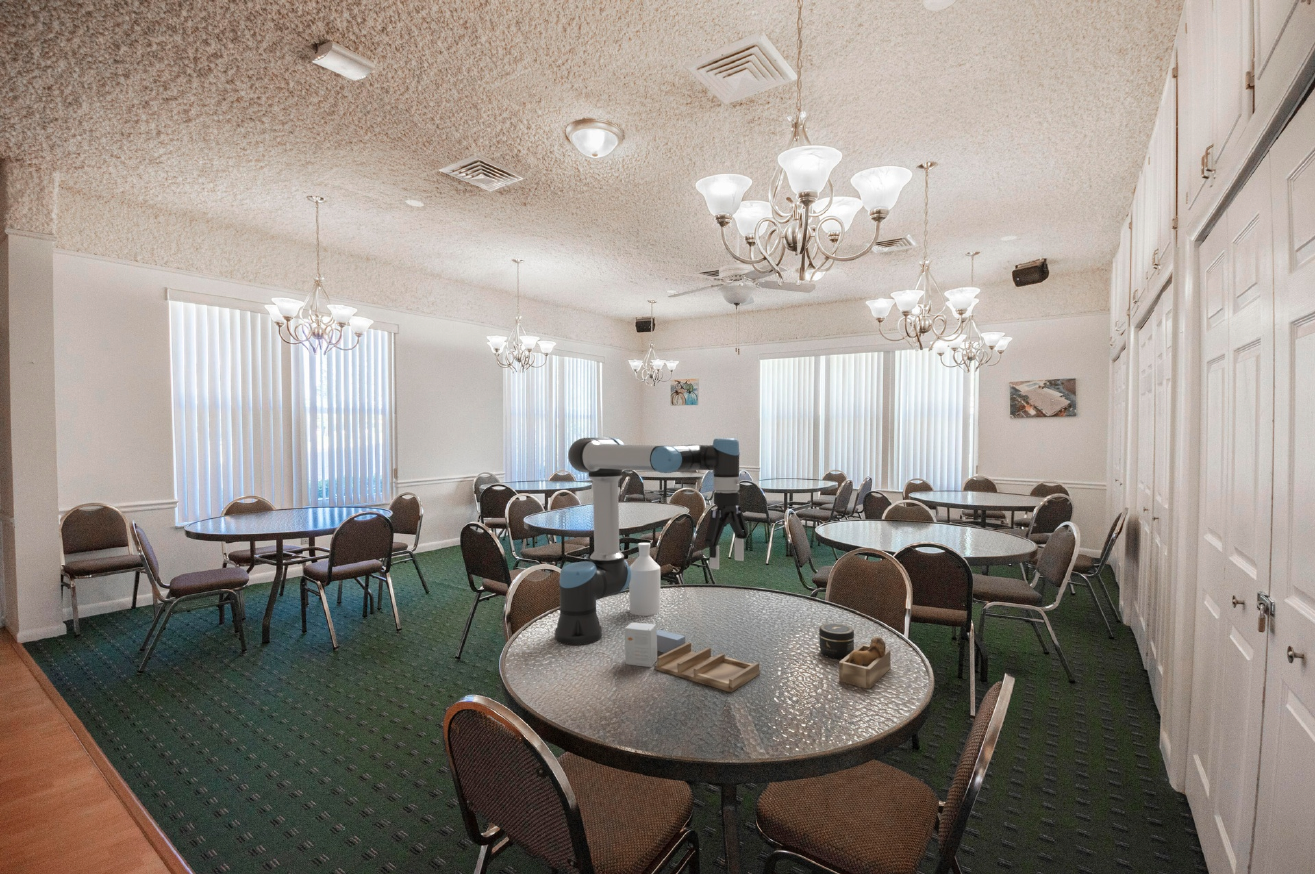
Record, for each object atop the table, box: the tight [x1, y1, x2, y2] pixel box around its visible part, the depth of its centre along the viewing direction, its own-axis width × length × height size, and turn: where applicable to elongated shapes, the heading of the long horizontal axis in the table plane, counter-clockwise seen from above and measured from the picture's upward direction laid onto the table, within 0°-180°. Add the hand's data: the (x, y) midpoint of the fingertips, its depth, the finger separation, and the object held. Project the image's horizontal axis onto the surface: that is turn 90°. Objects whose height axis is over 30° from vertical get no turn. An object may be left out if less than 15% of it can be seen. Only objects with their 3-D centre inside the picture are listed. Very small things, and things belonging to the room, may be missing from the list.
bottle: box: [628, 542, 661, 617], centre depth 219 cm, size 12×12×25 cm
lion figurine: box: [848, 636, 887, 667], centre depth 159 cm, size 15×5×9 cm, turn 122°
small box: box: [624, 622, 658, 668], centre depth 170 cm, size 8×6×10 cm
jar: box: [818, 622, 855, 660], centre depth 175 cm, size 10×10×8 cm
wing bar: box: [657, 629, 686, 654], centre depth 179 cm, size 4×11×5 cm, turn 52°
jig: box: [653, 641, 761, 693], centre depth 163 cm, size 25×15×4 cm, turn 52°
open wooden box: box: [838, 643, 892, 690], centre depth 159 cm, size 8×17×5 cm, turn 142°
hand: (727, 564), depth 171 cm, fingers open, 13 cm apart
